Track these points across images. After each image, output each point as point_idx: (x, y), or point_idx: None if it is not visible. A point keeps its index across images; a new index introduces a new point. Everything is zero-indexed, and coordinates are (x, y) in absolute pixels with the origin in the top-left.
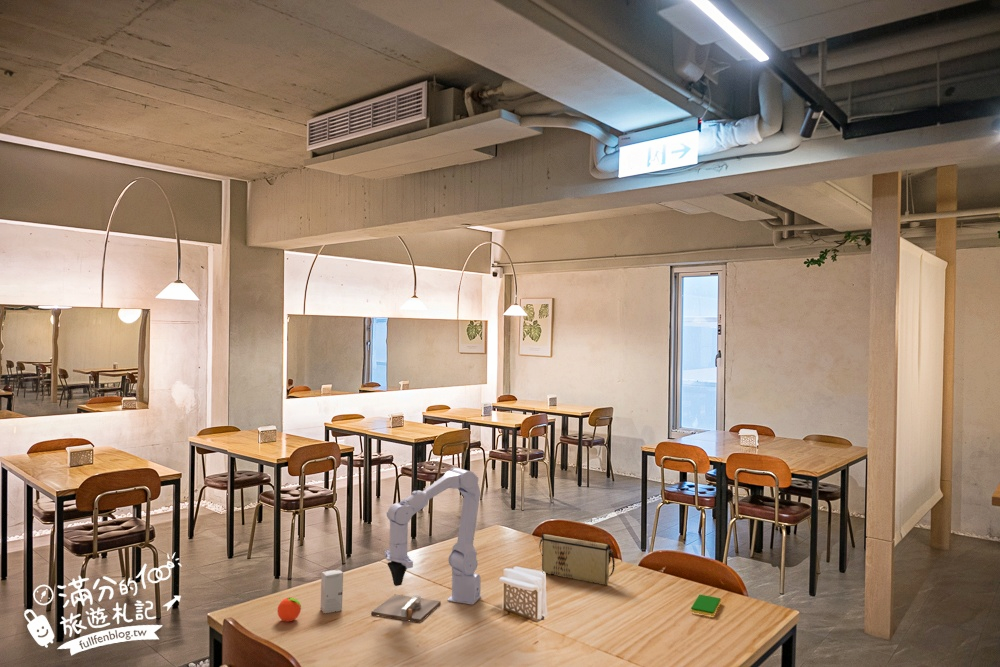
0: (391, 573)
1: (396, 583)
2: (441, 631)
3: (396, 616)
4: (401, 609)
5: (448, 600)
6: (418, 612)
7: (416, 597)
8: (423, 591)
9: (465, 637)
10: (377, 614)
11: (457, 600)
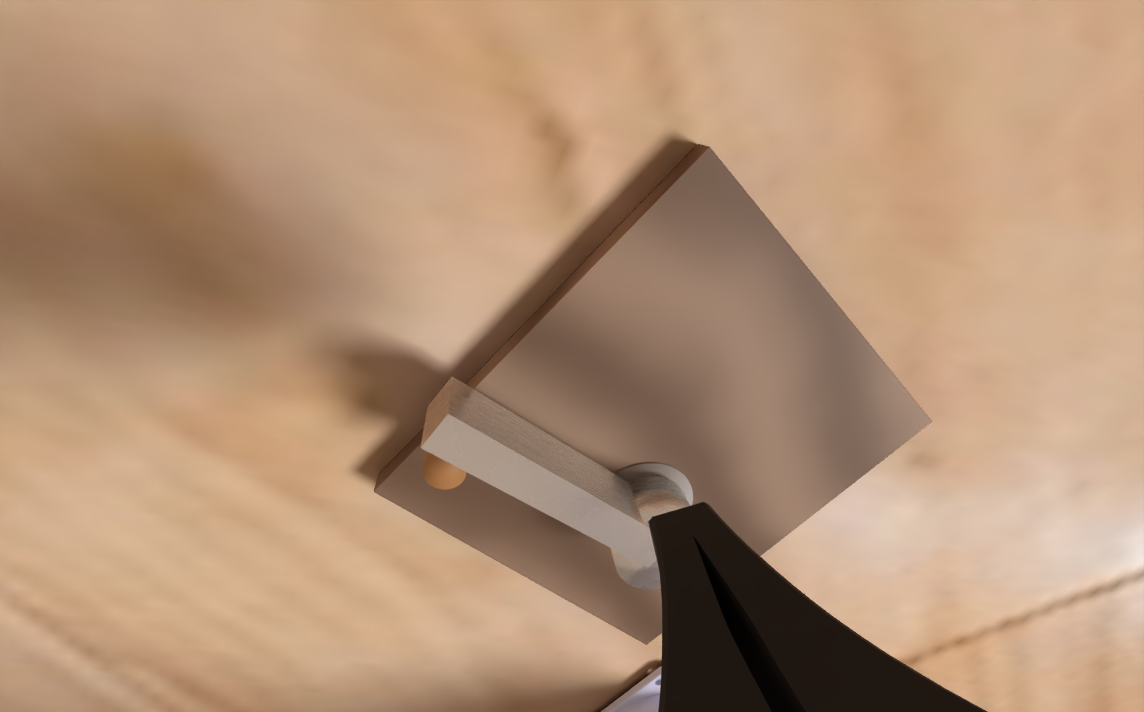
0: (821, 617)
1: (656, 549)
2: (173, 569)
3: (516, 341)
4: (448, 410)
5: (657, 670)
6: (515, 505)
7: (657, 563)
8: (880, 577)
9: (40, 671)
10: (652, 196)
11: (623, 708)
